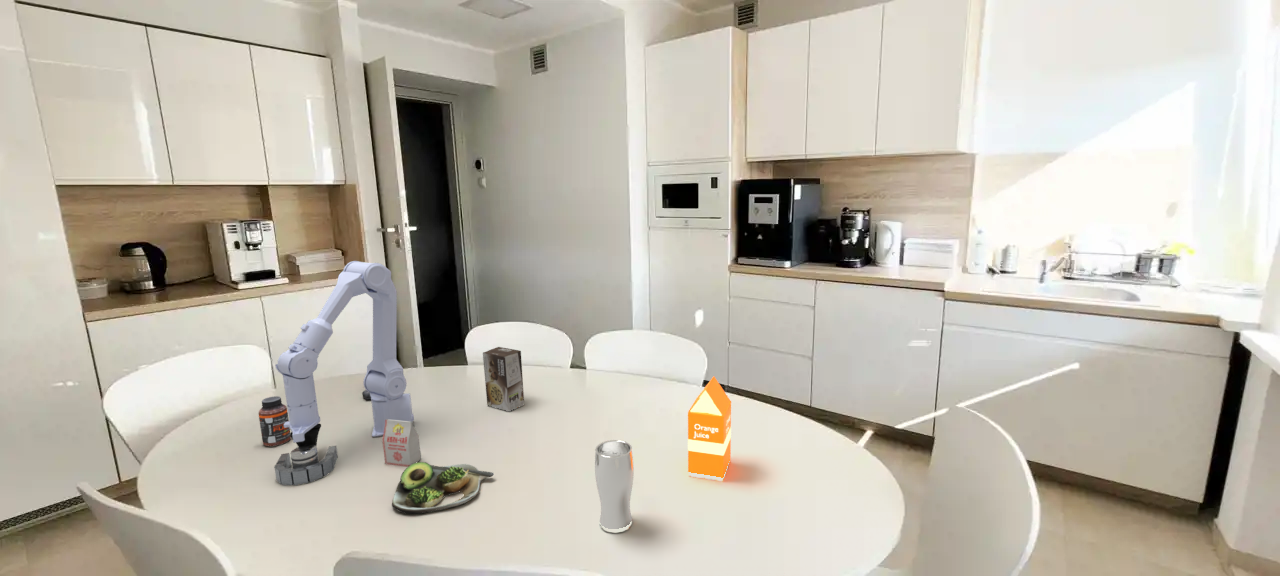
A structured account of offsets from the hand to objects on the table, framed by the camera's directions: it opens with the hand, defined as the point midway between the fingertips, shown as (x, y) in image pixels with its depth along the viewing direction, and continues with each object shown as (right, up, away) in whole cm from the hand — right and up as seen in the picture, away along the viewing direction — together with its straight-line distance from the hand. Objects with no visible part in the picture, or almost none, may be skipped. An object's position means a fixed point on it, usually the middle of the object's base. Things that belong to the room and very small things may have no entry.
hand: (309, 458), depth 127 cm
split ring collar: (+2, -2, -4) cm, 5 cm away
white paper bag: (+21, -1, 0) cm, 21 cm away
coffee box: (+37, +5, +31) cm, 49 cm away
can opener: (-7, +7, +45) cm, 46 cm away
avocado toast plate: (+34, -3, -12) cm, 36 cm away
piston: (+1, -2, -3) cm, 4 cm away
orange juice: (+91, -1, -6) cm, 91 cm away
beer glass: (+71, -5, -25) cm, 76 cm away
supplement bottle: (-15, 0, +11) cm, 18 cm away
